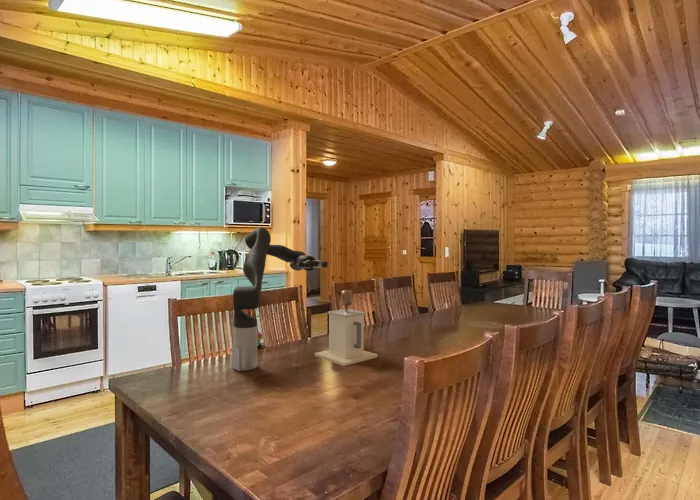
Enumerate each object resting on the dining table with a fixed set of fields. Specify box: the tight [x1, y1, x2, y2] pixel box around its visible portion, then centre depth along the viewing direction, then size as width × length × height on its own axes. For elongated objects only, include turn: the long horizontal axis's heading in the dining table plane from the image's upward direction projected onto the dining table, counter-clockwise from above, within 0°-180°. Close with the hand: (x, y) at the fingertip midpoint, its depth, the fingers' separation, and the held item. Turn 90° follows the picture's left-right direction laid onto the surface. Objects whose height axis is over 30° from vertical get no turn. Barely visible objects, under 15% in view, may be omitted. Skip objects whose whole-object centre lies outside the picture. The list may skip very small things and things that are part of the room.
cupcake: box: [257, 330, 263, 347], centre depth 215 cm, size 9×8×12 cm
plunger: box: [340, 289, 353, 313], centre depth 198 cm, size 9×9×24 cm
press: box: [314, 308, 378, 367], centre depth 198 cm, size 20×20×20 cm
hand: (316, 265), depth 208 cm, fingers open, 8 cm apart
